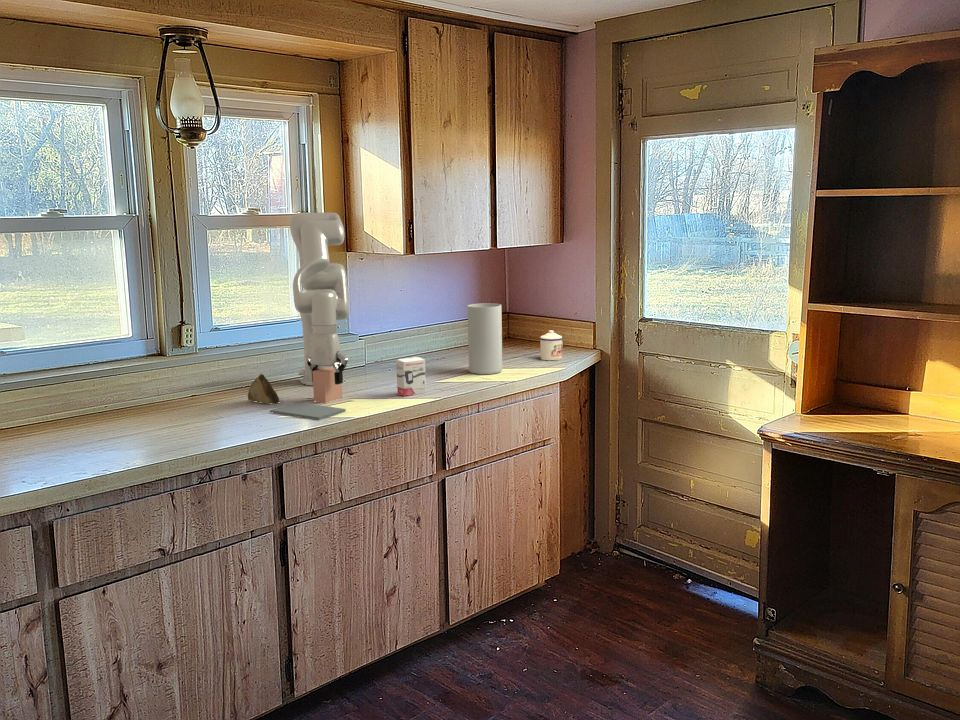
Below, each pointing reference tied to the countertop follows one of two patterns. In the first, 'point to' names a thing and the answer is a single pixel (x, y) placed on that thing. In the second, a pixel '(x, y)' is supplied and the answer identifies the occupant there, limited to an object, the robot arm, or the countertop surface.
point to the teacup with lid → (551, 346)
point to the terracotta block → (326, 385)
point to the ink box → (411, 376)
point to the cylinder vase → (485, 338)
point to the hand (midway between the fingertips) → (327, 382)
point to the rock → (262, 391)
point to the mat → (308, 410)
